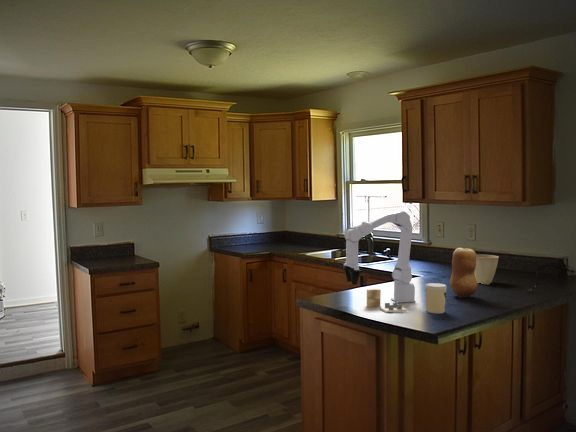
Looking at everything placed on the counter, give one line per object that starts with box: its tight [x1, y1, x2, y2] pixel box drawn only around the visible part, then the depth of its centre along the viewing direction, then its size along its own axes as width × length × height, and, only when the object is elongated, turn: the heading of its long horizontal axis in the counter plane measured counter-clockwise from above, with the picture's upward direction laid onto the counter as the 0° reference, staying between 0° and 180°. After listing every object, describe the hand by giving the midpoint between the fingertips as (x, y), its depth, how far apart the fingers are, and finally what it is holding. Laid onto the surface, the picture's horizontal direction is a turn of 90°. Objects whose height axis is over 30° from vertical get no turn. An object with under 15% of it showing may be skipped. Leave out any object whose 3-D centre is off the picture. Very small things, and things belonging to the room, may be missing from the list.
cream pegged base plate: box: [379, 302, 408, 314], centre depth 237 cm, size 10×7×3 cm
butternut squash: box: [449, 247, 478, 299], centre depth 266 cm, size 14×13×25 cm
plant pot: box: [474, 254, 500, 285], centre depth 305 cm, size 15×15×16 cm
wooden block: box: [366, 288, 382, 308], centre depth 245 cm, size 6×2×8 cm, turn 102°
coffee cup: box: [424, 282, 448, 314], centre depth 236 cm, size 9×9×12 cm
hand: (351, 283), depth 250 cm, fingers open, 7 cm apart
